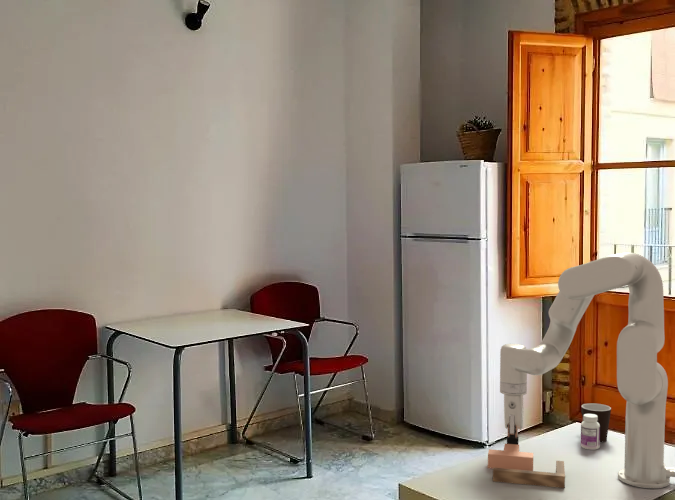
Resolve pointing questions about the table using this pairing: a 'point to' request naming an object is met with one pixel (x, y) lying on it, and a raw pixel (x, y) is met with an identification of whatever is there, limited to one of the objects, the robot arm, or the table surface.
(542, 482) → the walnut fence
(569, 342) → the robot arm
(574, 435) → the table surface
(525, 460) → the t block
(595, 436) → the pill bottle
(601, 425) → the coffee mug
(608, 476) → the table surface
